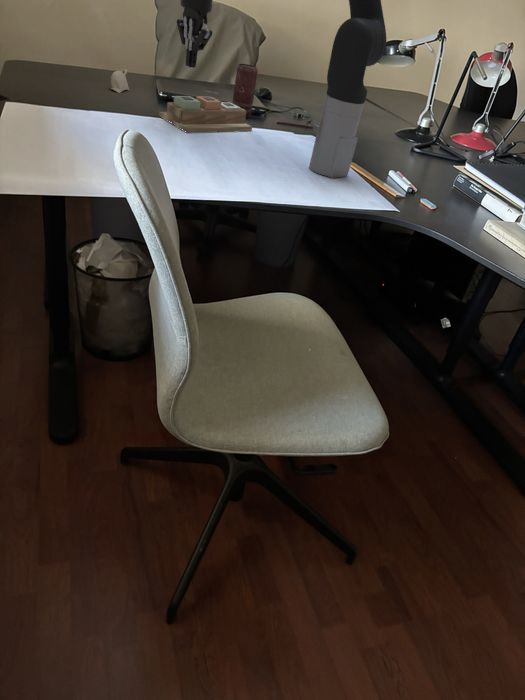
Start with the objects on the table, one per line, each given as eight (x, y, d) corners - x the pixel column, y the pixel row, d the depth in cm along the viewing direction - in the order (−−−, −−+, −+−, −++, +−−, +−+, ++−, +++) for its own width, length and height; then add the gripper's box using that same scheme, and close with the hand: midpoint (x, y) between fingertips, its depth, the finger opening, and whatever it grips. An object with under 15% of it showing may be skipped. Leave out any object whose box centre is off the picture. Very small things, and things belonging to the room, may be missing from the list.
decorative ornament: (106, 90, 156) (106, 70, 152) (120, 86, 162) (121, 67, 159) (118, 93, 155) (119, 73, 152) (132, 89, 162) (133, 70, 159)
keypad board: (251, 131, 149) (254, 114, 146) (186, 133, 135) (188, 114, 133) (223, 115, 156) (225, 100, 154) (158, 116, 143) (159, 98, 140)
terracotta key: (220, 111, 144) (221, 101, 142) (205, 111, 141) (206, 100, 139) (210, 106, 146) (211, 95, 145) (195, 106, 143) (196, 95, 142)
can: (248, 120, 158) (256, 69, 149) (228, 115, 158) (235, 64, 150) (253, 116, 163) (261, 67, 154) (233, 111, 163) (240, 62, 155)
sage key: (199, 111, 139) (200, 100, 138) (183, 111, 137) (184, 100, 135) (189, 106, 142) (190, 95, 141) (173, 105, 139) (174, 95, 138)
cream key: (239, 116, 149) (240, 106, 147) (225, 117, 146) (226, 106, 144) (229, 111, 151) (230, 101, 150) (215, 111, 148) (216, 101, 147)
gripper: (227, -7, 122) (217, 74, 132) (195, -17, 129) (188, 60, 139) (200, -12, 117) (192, 73, 128) (169, -22, 124) (164, 59, 135)
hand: (190, 66), depth 133 cm, fingers closed
